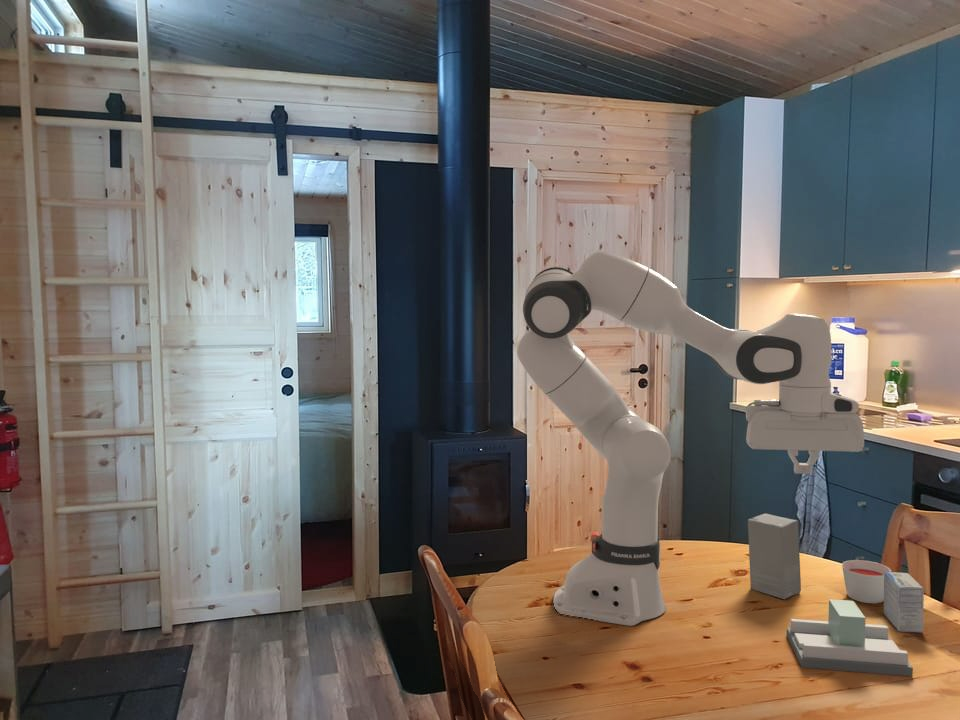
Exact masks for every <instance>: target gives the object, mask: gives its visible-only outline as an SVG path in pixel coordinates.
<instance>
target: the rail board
mask: <svg viewBox="0 0 960 720" xmlns="http://www.w3.org/2000/svg"><path fill="white" fill-rule="evenodd" d="M786 637H787V639H788V641H789V643H790V645H791V648H792V650H793V653H795V654H794V655H795V656H796V658H797V660H798V663H799V665H800V667H801V668H804V669H805V668H806V669H819V670H830V671H831V670H832V671H841V672H856V673H864V674H865V673H867V674H876V675H877V674H879V675H890V676H901V675H902V676H903V677H912V676H913V674H914V668H913V666H912V665H911V663H910V662H909V652H908V651H907V650H902V649H900V648H899V647H898V645H897V644H896V643H895V642H894V640H893V639H892V638H891V637H890V636H889V627H888V626H887V625H886V624H885V625H883V624H871V623H870V624H869V623H865V647H853V646H840V645H836V644H835V642H834V641H833V639H832V637H831V636H830V634H829V632H828V621H827V620H826V621H825V620H815V619H814V620H811V619H798V618H790V627H786Z"/></svg>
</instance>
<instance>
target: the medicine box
mask: <svg viewBox="0 0 960 720" xmlns="http://www.w3.org/2000/svg"><path fill="white" fill-rule="evenodd" d="M924 595H925V594H924V587H923V586H921V584H920V583H919V582H918V581H916V579H914V578H913V577H912V576H911V574H909V573H907V572H895V571H894V572H893V571H891V572H885V575H884V601H883V614H884V616H885V617H886V618H887V619H888V621H889V622H890V623H891V624H892V625H893V627H894V628H895V629H896V630H897V631H898V632H902V633H903V632H904V633H917V634H918V633H920V634H922V633H924V597H925V596H924Z"/></svg>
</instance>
